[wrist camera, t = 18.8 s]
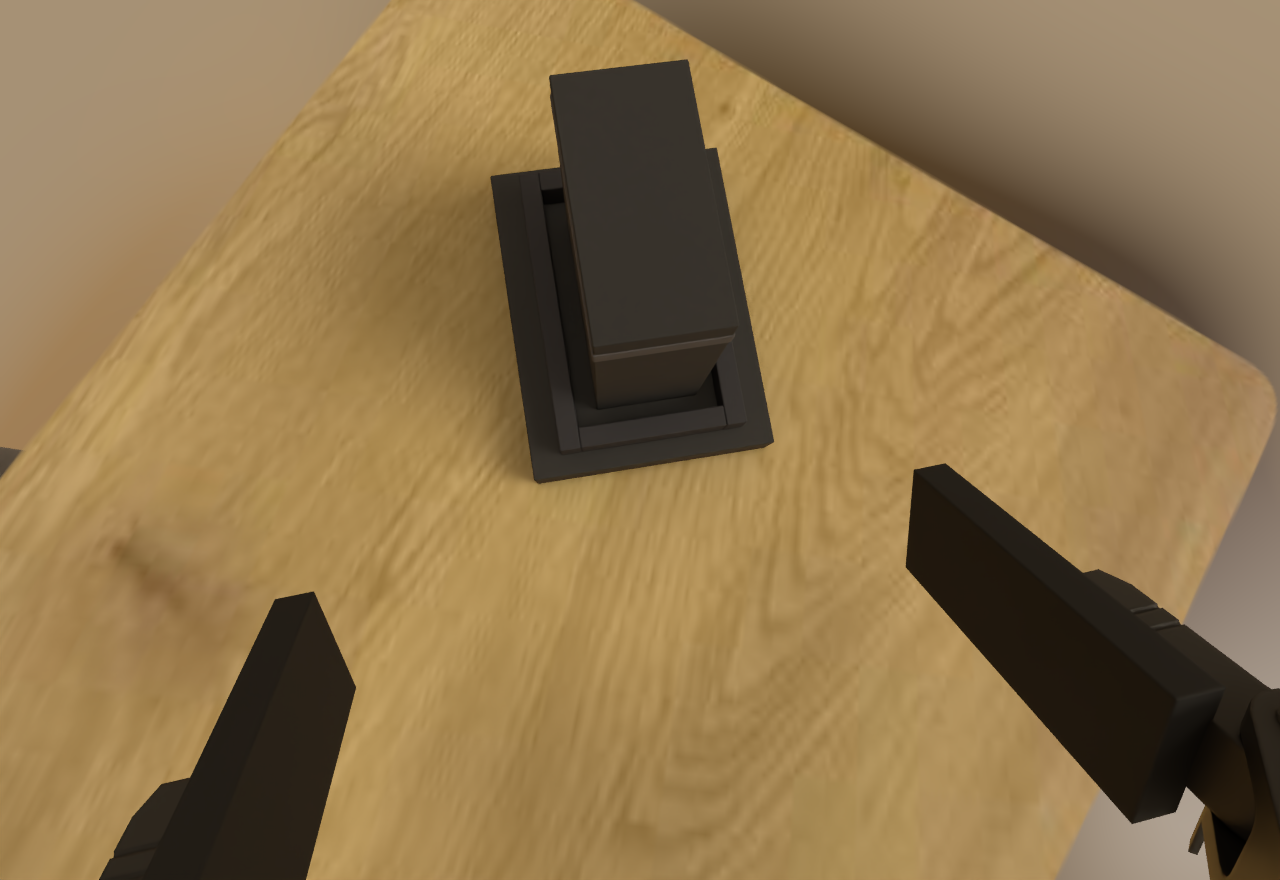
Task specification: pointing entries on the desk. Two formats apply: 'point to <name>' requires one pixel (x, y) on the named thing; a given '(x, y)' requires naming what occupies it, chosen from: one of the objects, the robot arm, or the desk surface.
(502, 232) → the base pad
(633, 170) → the black block
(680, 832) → the desk surface
